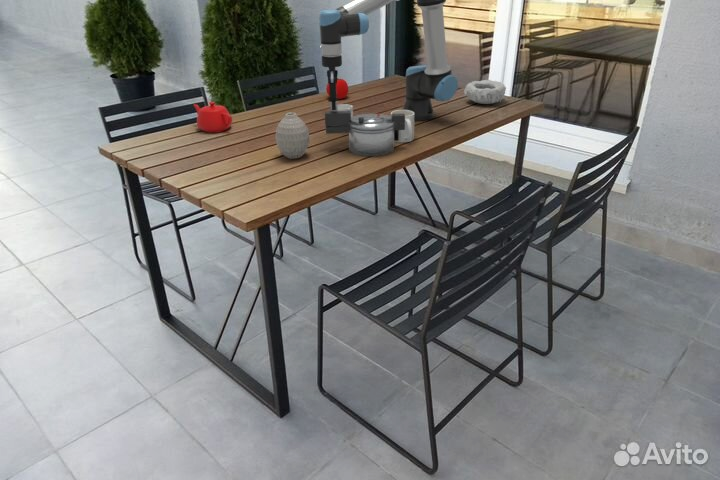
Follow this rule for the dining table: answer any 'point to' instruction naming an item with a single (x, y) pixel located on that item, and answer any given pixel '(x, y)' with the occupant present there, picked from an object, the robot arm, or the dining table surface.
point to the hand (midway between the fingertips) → (334, 117)
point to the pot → (368, 139)
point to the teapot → (213, 118)
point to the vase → (292, 136)
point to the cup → (345, 108)
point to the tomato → (340, 88)
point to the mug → (408, 133)
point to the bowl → (485, 91)
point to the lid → (363, 120)
